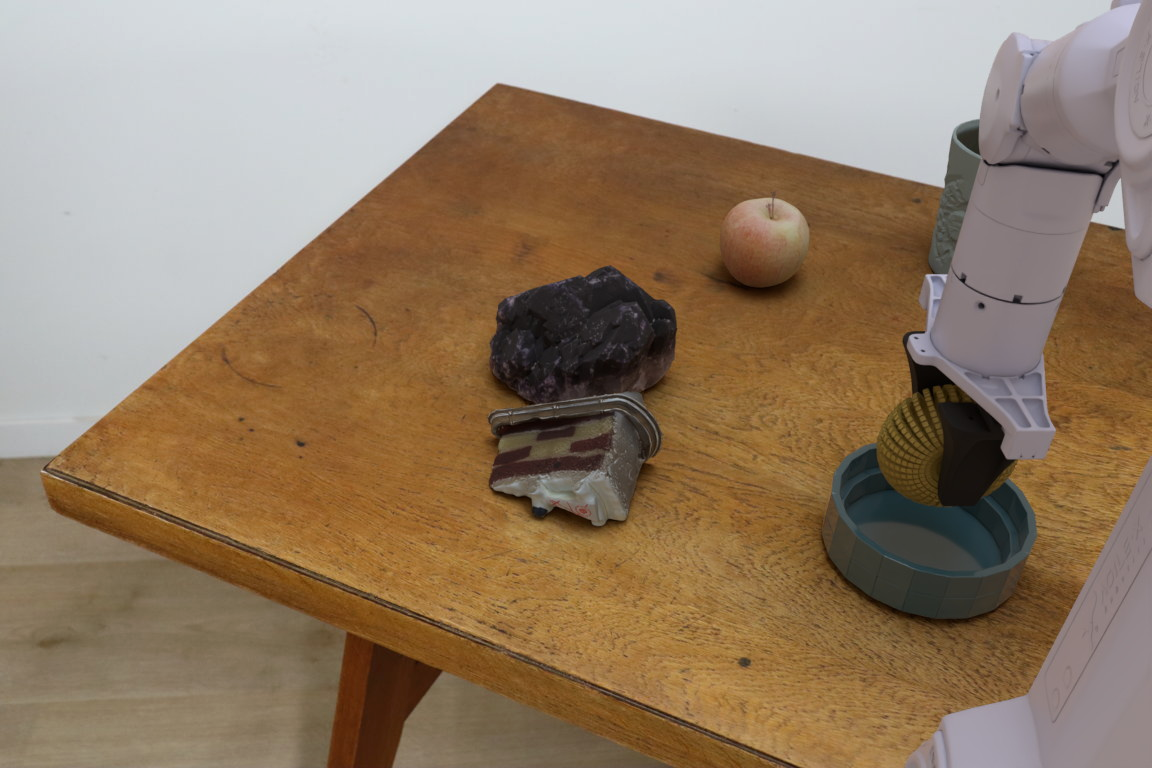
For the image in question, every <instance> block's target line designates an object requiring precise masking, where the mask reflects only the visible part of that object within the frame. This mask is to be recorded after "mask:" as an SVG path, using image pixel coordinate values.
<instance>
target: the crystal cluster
mask: <svg viewBox="0 0 1152 768" xmlns="http://www.w3.org/2000/svg"><path fill="white" fill-rule="evenodd" d="M676 314H677V313H676V310H675V308H674V307H673V306H672V305H671V304H670V303H669V302H668V301H667V300H665V299H656V298H654V297H653V296H651V294H649V293H648V292H647V291H646V290H645V289H643V288H642V287H641V286H639V285H638V284H637V283H635V282H634V281H633V280H632V279H630V278H629V277H628V276H626V275H625V274H624V273H622V271H620V270H619V269H617V268H616V267H614V266H612V265H611V264H609V265H605V266H603V267H599V268H596V269H595V270H592V271H591V272H590V273H589V274H587V275H586V276H583V275H581V274H579V275H576V276H572V277H569V278H565V279H562V280H559V281H555V282H551V283H547V284H543V285H540V286H537V287H534V288H531V289H527V290H525V291H521V292H520V293H517V294H515V295H510V296H507V297H505V298H504V299H502V301H500V302H499V303H498V304H497V311H496V316H495V322H496V329H495V333H494V334H493V336H492V337H491V340H490V342H489V348H490V356H489V369H490V370H491V371H492V373H493V375H494V376H495V377H496V379H498V380H500V381H501V382H502V383H503V384H505V385H507V387H508V388H510V389H511V390H513V391H515V392H517V394H518V395H519V396H520V397H521V398H523V399H525V400H527V401H529V402H531V403H534V404H540V403H541V404H545V403H553V402H557V401H564V400H569V399H575V398H581V397H588V396H594V395H596V396H599V395H600V396H602V395H605V394H607V395H610V394H614V393H615V394H616V393H621V392H625V391H627V390H628V391H629V392H630V393H631V392H640V393H641V392H643V391H644V390H646V389H649V388H652V387H653V386H655V385H656V384H658V383H659V381H661V380H662V378H664V376H665V375H666V374H667V372H668V371H669V370H670V368H671V366H672V364H673V362H674V361H675V356H676V346H677V345H676V343H677V339H676V338H677V332H678V322H677V315H676Z"/></svg>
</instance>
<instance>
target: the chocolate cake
mask: <svg viewBox="0 0 1152 768" xmlns="http://www.w3.org/2000/svg"><path fill="white" fill-rule="evenodd" d="M643 397H644V395H643V393H641V392H631V393H630V392H629V391H628V390H627V391H625V392H621V393H616V394H615V393H614V394H610V395H607V394H605V395H602V396H600V395H599V396H596V395H594V396H588V397H581V398H575V399H569V400H564V401H557V402H553V403H545V404H541V403H540V404H536V403H534V404H529V405H527V406H523V407H516V408H514V406H508V407H505V408H494V410H493V411H491V412H489V414H488V416H486V419H487V423H488V424H489V425H490V431H491V433H492V435H493V436H494V437H495V438H496V439H498V440H499V442H498V444H497V449H498V453H497V455H496V456H495V457H494V459H493V463H492V466H491V469H492V470H491V473H490V476H489V479H488V485H489V487H490V488H492V489H493V491H496V492H503V493H504V494H507V495H513V496H515V497H528V498H529V499H531V507H532V508H531V513H532V514H533V515H534V516H535V517H536V518H543V517H545V516H546V515H547V514H549V513H550V512H551V511H552V510H553V509H554V508H555V507H557V508H560V509H563V510H565V511H567V512H571V513H572V514H575V515H576V516H580V517H582V518H584V519H586V520H590V521H591V524H592V525H593V526H594V527H602V526H604V525H606V523H607V521H608V520H610V519H611V520H613V521H614V520H615V521H621V522H623V521H626V520H627V518H628V516H629V513H630V506H631V501H632V499H633V497H634V493H635V489H636V486H637V480H638V477H639V475H640V472H641V469H642V466H643V464H645V463H646V462H648V460H649V459H653V458H655V457H656V456H657V455H658V454H659V453H660V452H661V451H662V446H663V439H664V438H663V436H664V433H663V431H662V430H661V427H660V423H659V420H658V419H657V418H656V417H655V416H654V414H653V413H652V411H649V410H648V408H647V407H646V406H645V404H644V403H645V399H644V398H643Z"/></svg>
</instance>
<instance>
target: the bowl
mask: <svg viewBox="0 0 1152 768" xmlns="http://www.w3.org/2000/svg"><path fill="white" fill-rule="evenodd" d="M876 445H877V441H876V442H873V443H869V444H865V445H863V446H861V447H859V448H858V449H856V450H854V451H853V452H851V453H849V454H848V455H846V456H845V457H843V459H842V460H841V462H840V463H839V465H838V467H837V468H836V469H835V471H834V472H833V475H832V478H831V482H830V487H829V491H828V493H827V494H828V495H827V498H826V503H825V507H824V511H823V516H822V524H821V537H822V540H823V543H824V546H825V549H826V552H827V555H828V558H830V560H831V561H832V563H833V564H834V565H835V567H836V568H837V570H839V572H840V573H841V574H842V576H843V577H844V578H846V579H847V581H849V582H850V583H851V584H853V585H854V586H856V587H857V588H858V589H859V590H860V591H862V592H863V593H864V594H866V595H867V596H868V597H870V598H871V599H874V600H876V601H878V602H881V603H883V604H884V605H887V606H889V607H891V608H893V609H896V610H897V611H900V612H903V613H908V614H912V615H916V616H921V617H925V618H930V619H936V620H947V619H951V620H953V619H955V620H956V619H969V618H973V617H976V616H980V615H982V614H985V613H989V612H992V611H994V610H995V609H997V608H998V607H999V606H1001V605H1002V604H1003V603H1004V602H1006V601H1007V600H1008V599H1010V597H1012V596H1013V595H1014V593H1015V590H1016V588H1017V585H1018V583H1019V581H1020V578H1021V576H1022V574H1023V571H1024V569H1025V567H1026V564H1027V562H1028V560H1029V557H1030V555H1031V552H1032V549H1033V548H1034V545H1035V542H1036V540H1037V537H1038V529H1037V527H1038V526H1037V518H1036V512H1035V511H1034V509H1033V507H1032V506H1031V504H1030V502H1029V500H1028V498H1027V495H1025V493H1024V492H1023V490H1022V489H1021V488H1019V486H1018V485H1017V484H1016V483H1014V481H1013V480H1012V479H1010V478H1009V477H1008V479H1007V480H1006V481H1005V482H1004V483H1003V484H1002V485H1001V486H1000V487H999V488H998V489H997V490H995V491H992V493H991V494H989V495H988V496H983V497H982V499H980V500H979V501H978V503H977V504H976V505H975V506H952V507H944V506H942V507H934V506H932V505H930V506H927V505H923V504H921V503H920V504H919V503H916V502H914V501H912V500H910V499H908V498H906V497H905V496H903V495H902V494H900V493H898V492H897V491H896V490H895V489H893V487H892V486H891V485H890V484H889V482H887V480H886V479H885V477H884V475H883V474H882V472H881V470H880V467H879V463H878V460H877V459H878V458H877V449H876ZM900 464H901V463H900ZM912 469H913V468H912ZM933 479H934V478H933Z"/></svg>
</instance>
